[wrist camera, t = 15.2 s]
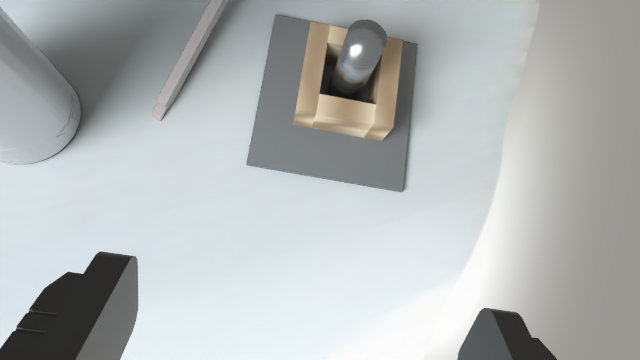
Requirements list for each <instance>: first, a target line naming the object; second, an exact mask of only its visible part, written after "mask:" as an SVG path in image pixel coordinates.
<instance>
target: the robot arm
mask: <svg viewBox="0 0 640 360" xmlns="http://www.w3.org/2000/svg"><path fill="white" fill-rule="evenodd" d="M80 116H81V108H80V102H79V99H78V96H77V94H76V92H75V91H74V89H73V87H72V86H71V85H70V84H69V83H68V82H67V81H66V79H65V78H64V77H63V76H62V75H61V74H60V73H59V72H58V71H57V69H56V68H55V67H54V66H53V65H52V64H51V62H50V61H49V60H48V59H47V58H46V57H45V56H44V55H43V54H42V53H41V51H40V50H39V49H38V48H37V47H36V46H35V45H34V44H33V43H32V41H31V40H30V39H29V38H28V37H27V36H26V35H25V34H24V33H23V32H22V30H21V29H20V28H19V27H18V26H17V25H16V24H15V23H14V22H13V20H12V19H11V18H10V17H9V16H8V15H7V14H6V13H5V12H4V11H3V9H2V8H1V7H0V161H1V162H5V163H10V164H30V163H35V162H40V161H42V160H45V159H47V158H50V157H51V156H53V155H55V154H56V153H58V152H59V151H61V150H62V149H63V148H64V147H65V146H66V145H67V144H68V143H69V142H70V140H71V139H72V138H73V136H74V135H75V133H76V130H77V128H78V126H79V122H80ZM137 311H138V264H137V258H136V257H135V256H129V255H122V254H115V253H108V252H99V253H97V254H96V256H95V257H94V258H93V260H92V261H91V263H90V265H89V266H88V268H87V269H86V271H85V272H84V274H79V273H72V272H67V273H66V274H64V275H63V276H61V277H60V278H59V279H57V280H56V281H54V282H53V283H51V284H50V285H49V286H47V287H46V288H44V290H43V291H42V293H41V294H40V295H39V297H38V298H37V299H36V301H35V302H34V304H33V305H32V306H31V308H30V309H29V313H26V314H25V316H24V317H23V319H22V320H21V321H20V323H19V324H18V325H17V328H16V331H13V332H12V334H11V335H10V336H9V338H8V339H7V340H6V342H5V343H4V345H3V346H2V347H1V349H0V360H120V358H121V356H122V354H123V351H124V349H125V347H126V345H127V342H128V340H129V338H130V336H131V333H132V331H133V328H134V325H135V321H136V317H137ZM458 360H557V359H556V358H555V356H554V355H553V354H552V353H551V352H550V351H549V350H548V349H547V348H546V347H545V346H544V344H543V343H542V342H541V341H540V340H539V339H538V338H532V337H531V335H530V333H529V331H528V329H527V327H526V325H525V323H524V321H523V319H522V317H521V316H520V315H519V314H518V313H516V312H510V311H502V310H496V309H489V308H484V309H482V310H481V311H480V312H479V314H478V316H477V318H476V320H475V322H474V324H473V325H472V328H471V329H470V331H469V333H468V335H467V337H466V339H465V341H464V343H463V344H462V346H461V348H460V351H459V354H458Z"/></svg>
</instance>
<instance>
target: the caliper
mask: <svg viewBox="0 0 640 360" xmlns="http://www.w3.org/2000/svg"><path fill="white" fill-rule="evenodd" d="M228 1H229V2H231V1H232V0H211V1H210V3H209V4H208V6H207V8H206V10H205V12H204V14H203V15H202V17H201V19H200V21H199V23H198V24H197V26H196V28H195V30H194V32H193V34H192V35H191V37H190V39H189V41H188V43H187V45H186V46H185V48H184V50H183V52H182V54H181V56H180V57H179V59H178V61H177V63H176V65H175V67H174V68H173V70H172V72H171V74H170V76H169V78H168V79H167V81H166V83H165V85H164V87H163V89H162V90H161V92H160V94H159V96H158V98H157V100H156V102H157V104H156V106H155V108H154V109H153V111H152V114H151V116H152V117H154V118H156V119H158V120H160V121H161V120H162V118H163V117H164V115H165V113H166V111H167V109H169V107H170V106H171V104H172V103H173V101H174V99H175V98H176V96H177V95H178V93H179V91H180V89H181V87H182V85H183V84H184V82H185V80H186V78H187V76H188V74H189V72H190V71H191V69H192V67H193V65H194V63H195V61H196V59H197V58H198V56H199V54H200V52H201V50H202V48H203V47H204V45H205V43H206V41H207V39H208V37H209V35H210V34H211V32H212V30H213V28H214V26H215V24H216V23H217V21H218V19H219V17H220V15H221V13H222V12H223V10H224V8H225V6H226V4H227V2H228Z"/></svg>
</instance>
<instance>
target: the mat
mask: <svg viewBox="0 0 640 360" xmlns="http://www.w3.org/2000/svg"><path fill="white" fill-rule="evenodd" d="M310 24H311V22H309V21H305V20H300V19H295V18H290V17H285V16H281V15H276V14H275V20H274V25H273V30H272V35H271V40H270V45H269V50H268V56H267V61H266V66H265V71H264V76H263V81H262V87H261V92H260V97H259V102H258V107H257V112H256V117H255V123H254V128H253V133H252V138H251V143H250V148H249V154H248V159H247V165H249V166H255V167H260V168H266V169H272V170H278V171H283V172H289V173H295V174H300V175H306V176H312V177H318V178H323V179H329V180H335V181H340V182H346V183H352V184H358V185H363V186H369V187H375V188H380V189H386V190H392V191H398V192H402V191H403V183H404V173H405V163H406V153H407V143H408V133H409V123H410V113H411V103H412V92H413V82H414V72H415V62H416V52H417V44H415V43H410V42H406V41H403V44H402V53H401V63H400V72H399V81H398V90H397V99H396V109H395V118H394V127H393V128H392V129H391V131H390V132H389V133H388V134H387V135H386V137H385V138H384V139H383V140H382V141H378V140H372V139H367V138H362V137H356V136H351V135H345V134H340V133H335V132H329V131H324V130H318V129H313V128H308V127H302V126H297V125H293V120H294V115H295V109H296V103H297V97H298V91H299V85H300V79H301V73H302V68H303V62H304V56H305V50H306V44H307V39H308V34H309V29H310ZM334 69H335V66H332V65H327V64H324V68H323V74H322V80H321V87H320V93H319V94H324V95H328V92H327V91H328V86H329V83H330V80H331V77H332V75H333V72H334ZM371 76H372V74H371V75H370V77H369V79H368V81H367V83H366V85H365V87H364V89H363V91H362V93H361V94H360V96H359V98H358V100H357V101H360V102H365V103H368V100H369V92H370V84H371Z"/></svg>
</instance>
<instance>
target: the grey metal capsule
mask: <svg viewBox="0 0 640 360" xmlns="http://www.w3.org/2000/svg"><path fill="white" fill-rule="evenodd" d="M386 44H387V36H386V33H385V31H384V30H383V28H382V27H381V26H380V25H379V24H377V23H376V22H373V21H370V20H359V21H356V22H355V23H353V24H352V25H351V26H350V27H349V29H348V32H347V34H346V37H345V40H344V43H343V46H342V49H341V52H340V54H339V57H338V60H337V63H336V66H335V69H334V72H333V75H332V77H331V80H330V83H329V86H328V91H327V92H328V95H329V96H334V97H339V98H344V99H349V100H355V101H357V100H358V98H359V96H360V94H361V93H362V91H363V89H364V87H365V85H366V83H367V81H368V79H369V77H370V75H371V74H372V72H373V70H374V68H375V66H376V64H377V62H378V60H379V58H380V56H381V55H382V53H383V51H384V49H385V47H386Z"/></svg>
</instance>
